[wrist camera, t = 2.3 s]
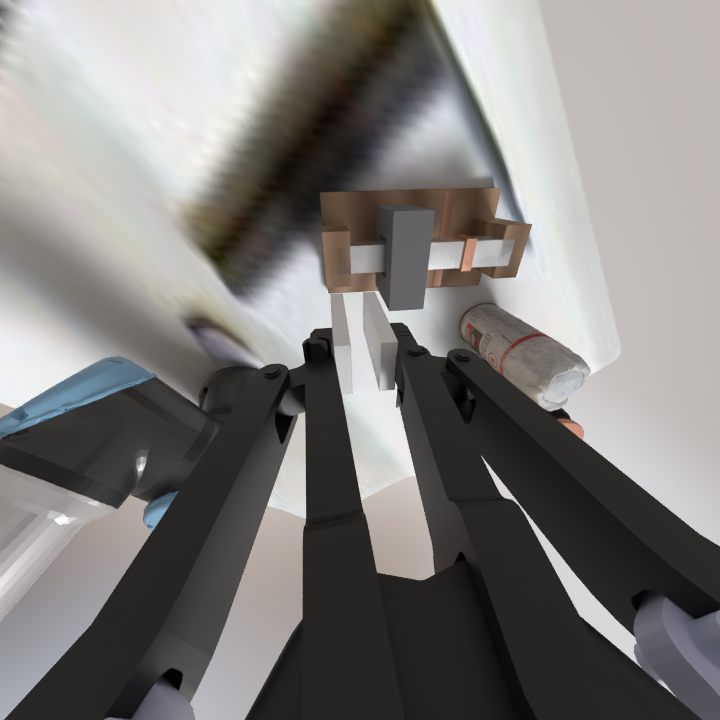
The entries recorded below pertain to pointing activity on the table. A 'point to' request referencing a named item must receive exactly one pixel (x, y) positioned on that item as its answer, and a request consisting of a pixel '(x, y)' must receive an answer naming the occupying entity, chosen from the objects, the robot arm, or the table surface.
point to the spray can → (524, 355)
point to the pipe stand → (452, 216)
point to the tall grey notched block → (404, 254)
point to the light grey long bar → (434, 254)
